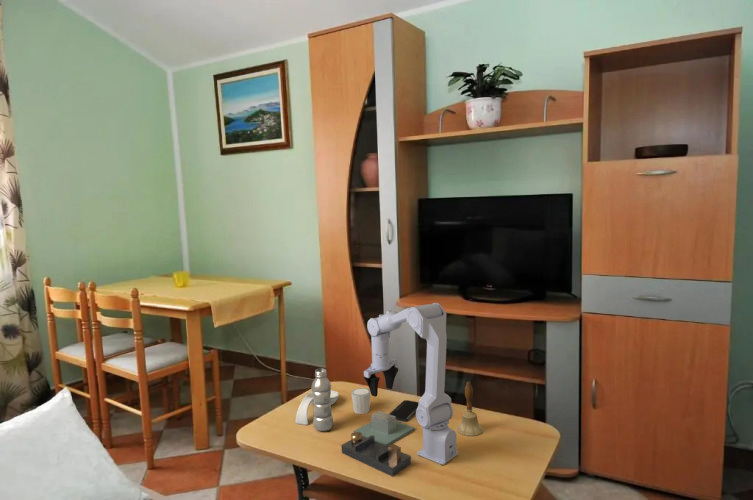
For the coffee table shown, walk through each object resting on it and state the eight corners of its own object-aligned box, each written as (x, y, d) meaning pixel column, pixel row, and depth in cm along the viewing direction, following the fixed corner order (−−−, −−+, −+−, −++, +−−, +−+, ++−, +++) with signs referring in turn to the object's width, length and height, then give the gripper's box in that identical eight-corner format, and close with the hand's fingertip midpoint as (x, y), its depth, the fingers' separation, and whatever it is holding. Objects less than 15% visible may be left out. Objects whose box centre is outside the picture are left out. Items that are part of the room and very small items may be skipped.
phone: (424, 403, 180) (407, 420, 167) (424, 406, 180) (407, 423, 167) (404, 399, 183) (386, 416, 170) (404, 402, 184) (386, 419, 170)
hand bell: (456, 435, 157) (455, 386, 155) (458, 423, 165) (457, 376, 163) (482, 437, 155) (482, 388, 153) (483, 425, 163) (483, 378, 161)
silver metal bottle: (324, 435, 160) (321, 375, 157) (309, 430, 164) (306, 371, 161) (337, 427, 165) (335, 369, 162) (322, 422, 169) (320, 365, 167)
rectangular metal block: (396, 429, 160) (395, 416, 159) (388, 434, 157) (387, 421, 156) (379, 423, 165) (379, 410, 164) (371, 428, 162) (371, 415, 161)
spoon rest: (316, 396, 192) (315, 378, 191) (344, 399, 188) (343, 381, 187) (286, 423, 169) (285, 403, 169) (318, 427, 166) (317, 407, 165)
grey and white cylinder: (348, 412, 176) (347, 393, 175) (357, 405, 182) (357, 386, 181) (365, 416, 173) (364, 396, 172) (374, 408, 179) (373, 389, 178)
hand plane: (411, 464, 141) (410, 444, 140) (392, 476, 135) (392, 455, 134) (360, 442, 154) (359, 424, 153) (341, 453, 148) (340, 433, 148)
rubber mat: (414, 429, 161) (414, 427, 161) (386, 446, 151) (386, 444, 151) (382, 418, 171) (382, 415, 170) (353, 433, 160) (353, 430, 160)
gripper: (385, 345, 173) (387, 382, 175) (356, 356, 163) (358, 396, 164) (401, 349, 168) (402, 387, 170) (372, 360, 158) (373, 401, 159)
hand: (381, 392), depth 167 cm, fingers open, 7 cm apart
